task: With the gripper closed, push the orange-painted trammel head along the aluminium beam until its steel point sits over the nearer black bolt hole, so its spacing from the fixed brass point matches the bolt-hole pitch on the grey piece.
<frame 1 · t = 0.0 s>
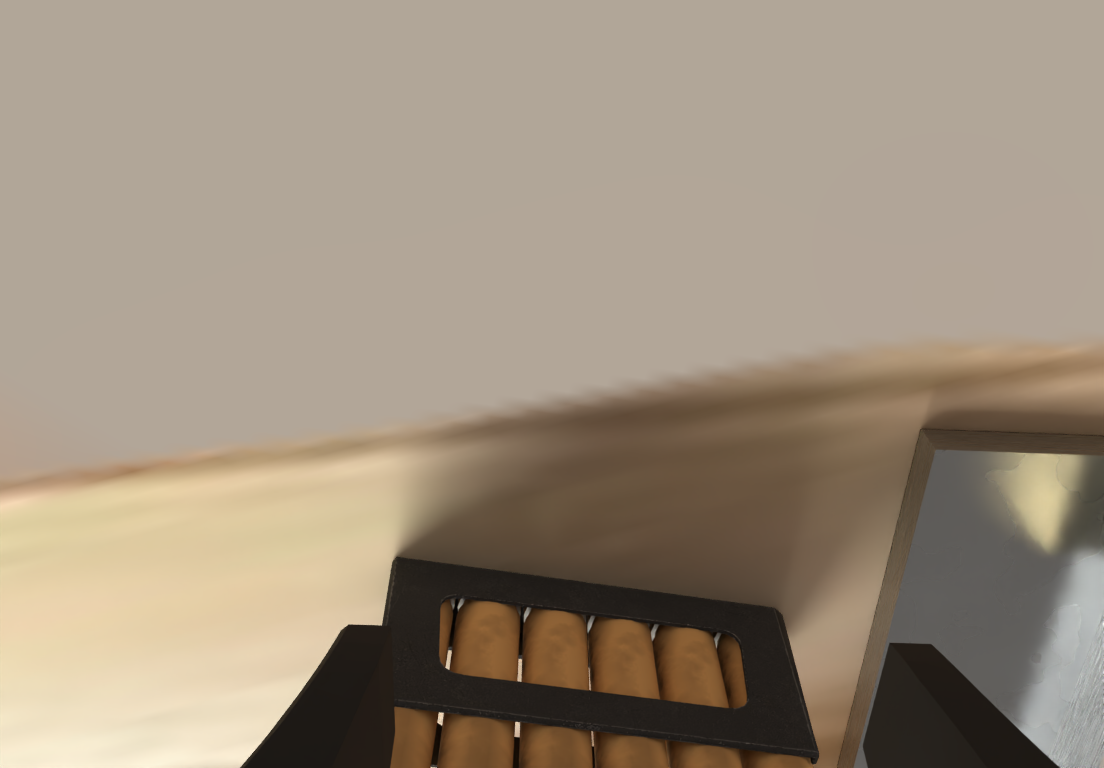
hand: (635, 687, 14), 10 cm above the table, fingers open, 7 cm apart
grey piece: (1055, 757, 28), on the table
ammunition clip: (584, 604, 26), on the table
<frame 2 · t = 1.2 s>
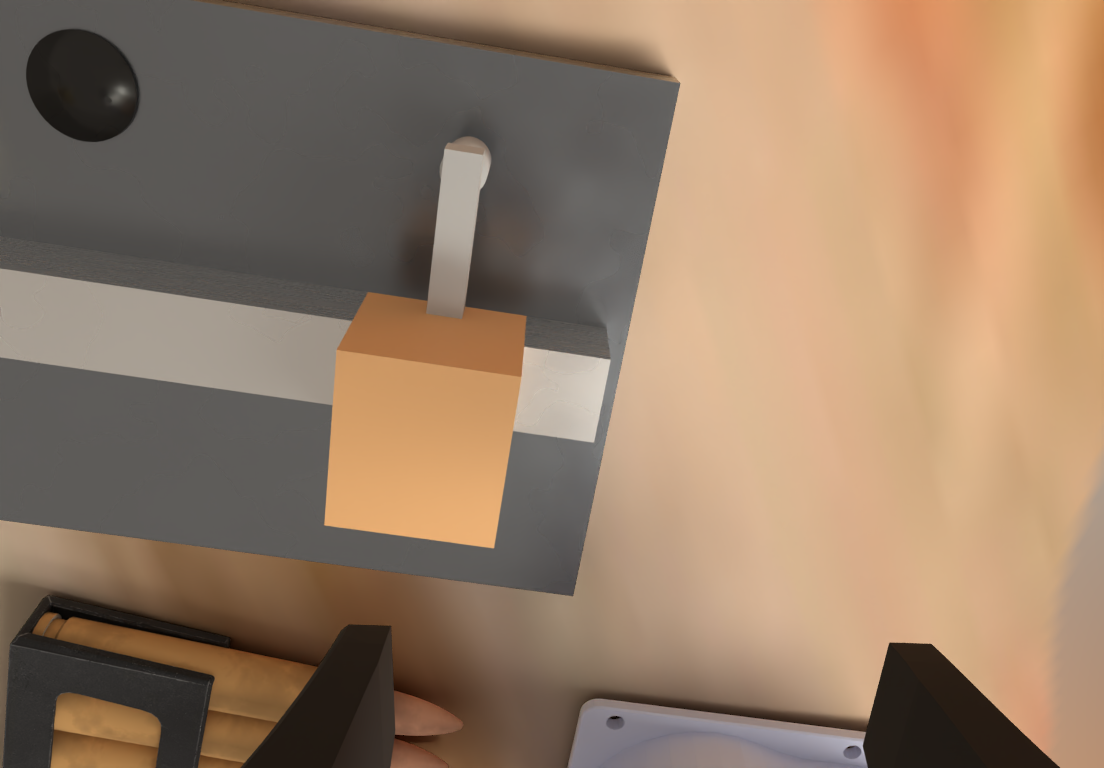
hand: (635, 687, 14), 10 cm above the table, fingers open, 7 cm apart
trammel head: (441, 330, 18), point 4 cm above the table, slide at 0.0 cm
grey piece: (155, 285, 22), on the table
ammunition clip: (10, 757, 27), point 1 cm above the table
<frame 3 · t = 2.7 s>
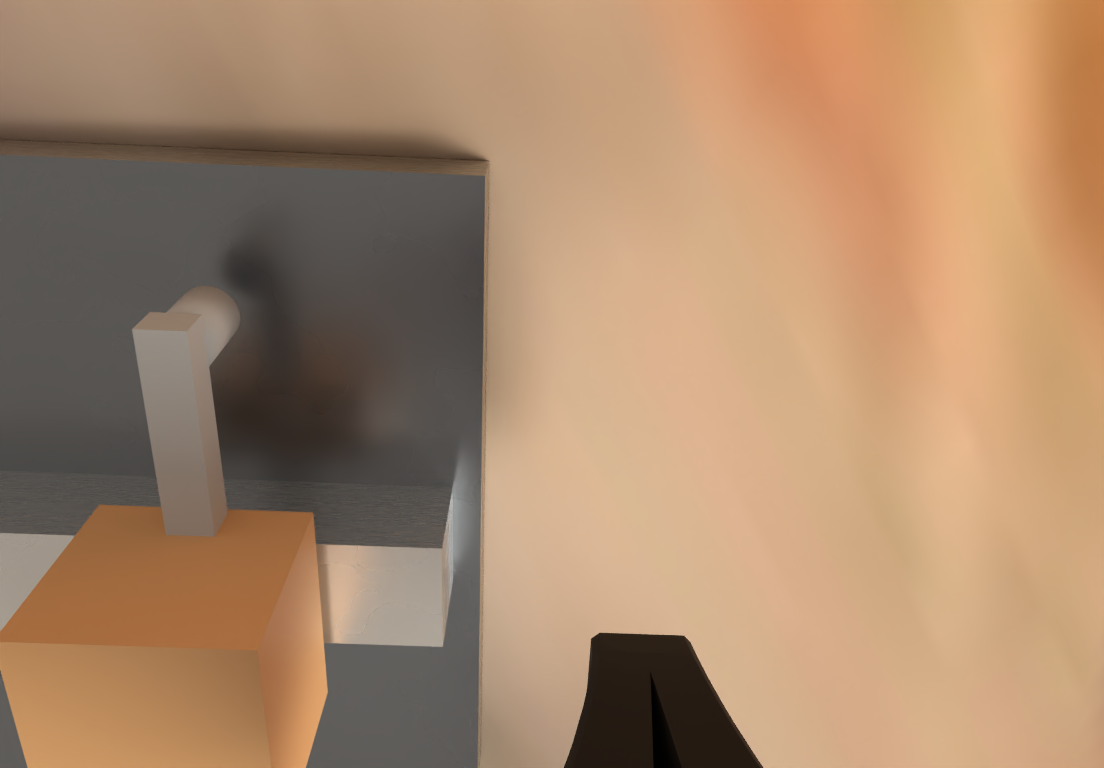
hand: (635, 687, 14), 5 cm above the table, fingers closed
trammel head: (186, 557, 13), point 4 cm above the table, slide at 0.0 cm
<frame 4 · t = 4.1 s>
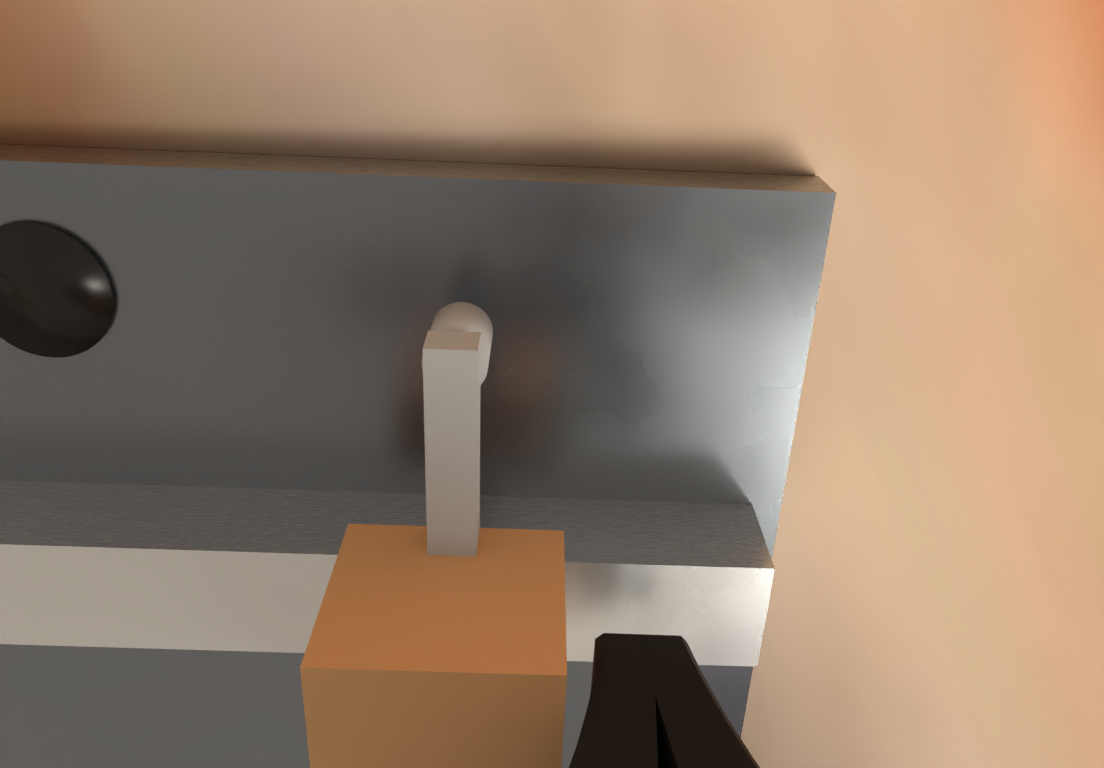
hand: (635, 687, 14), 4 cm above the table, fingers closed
trammel head: (450, 578, 13), point 4 cm above the table, slide at 1.4 cm, touching gripper
grey piece: (171, 501, 17), on the table
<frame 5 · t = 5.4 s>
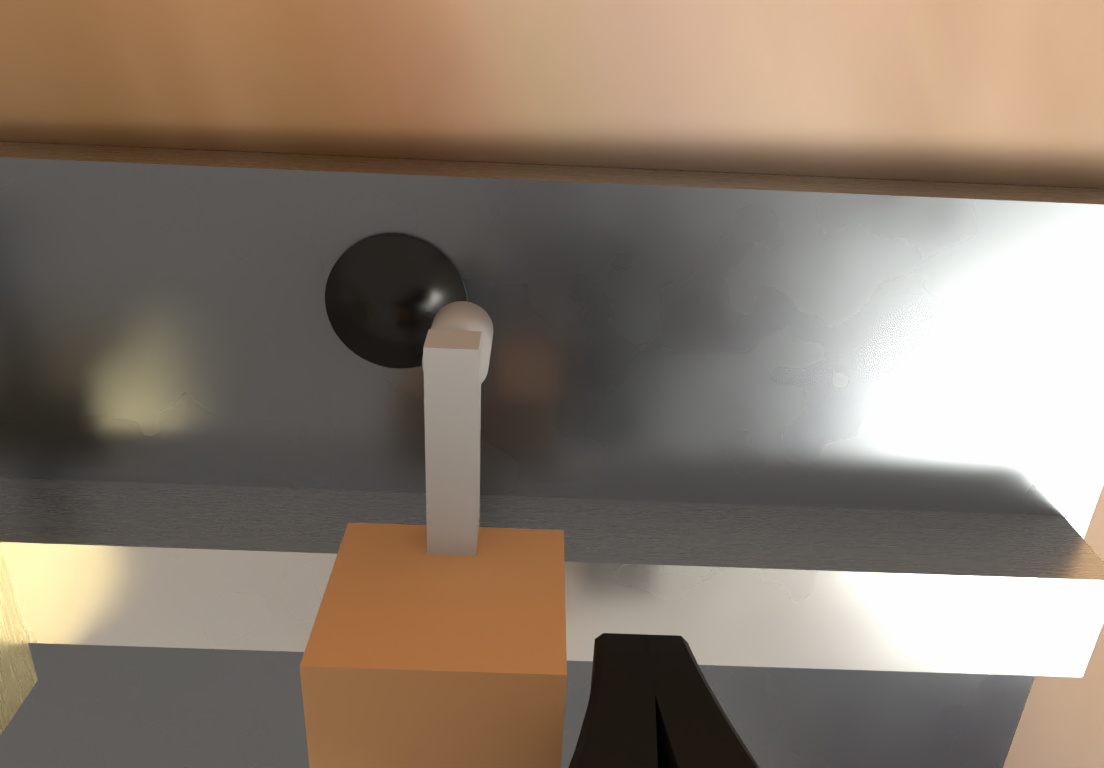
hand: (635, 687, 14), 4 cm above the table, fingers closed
trammel head: (450, 577, 13), point 4 cm above the table, slide at 6.9 cm, touching gripper
grey piece: (465, 510, 18), on the table
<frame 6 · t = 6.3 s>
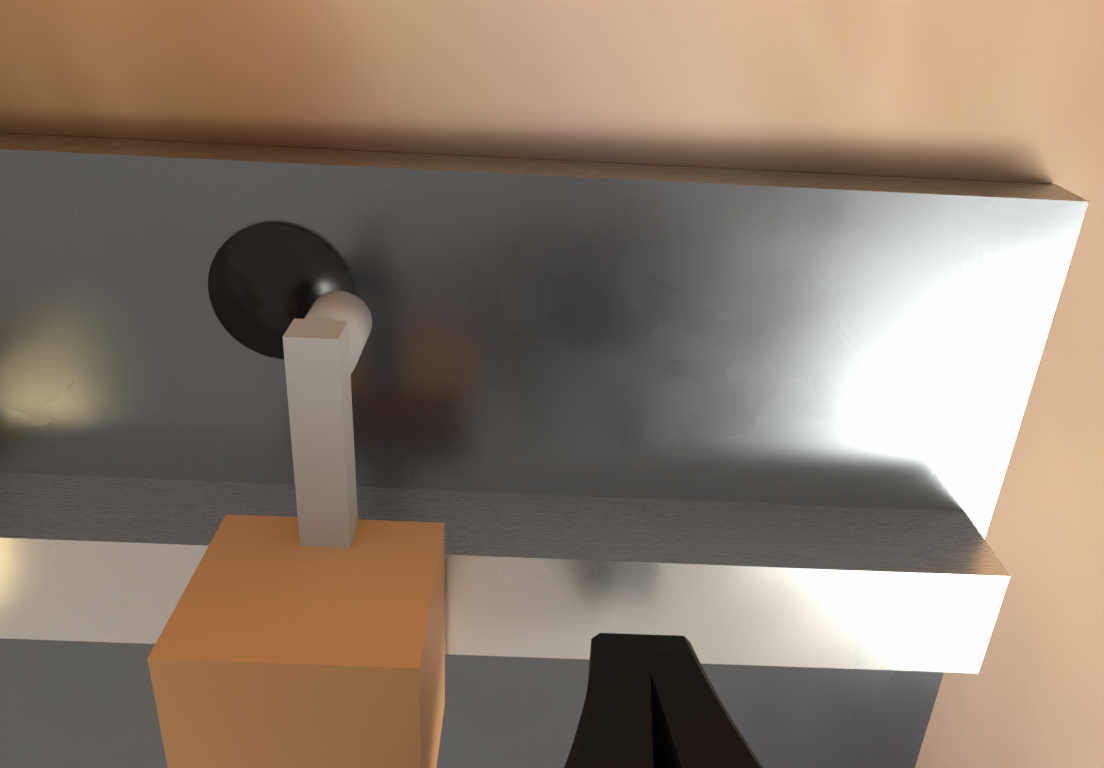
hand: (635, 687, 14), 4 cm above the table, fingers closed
trammel head: (322, 569, 13), point 4 cm above the table, slide at 6.9 cm
grey piece: (369, 503, 17), on the table
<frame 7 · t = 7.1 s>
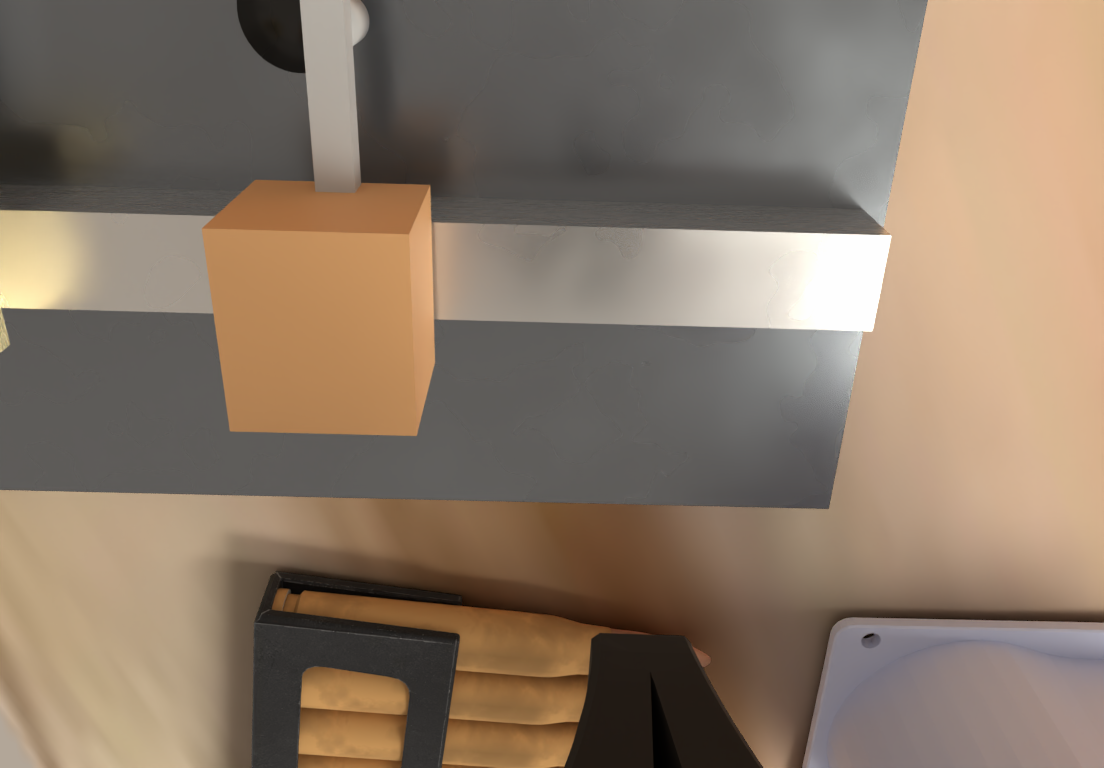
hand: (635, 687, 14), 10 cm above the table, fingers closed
trammel head: (333, 207, 16), point 4 cm above the table, slide at 6.9 cm
grey piece: (370, 227, 21), on the table
ammunition clip: (252, 741, 26), point 1 cm above the table
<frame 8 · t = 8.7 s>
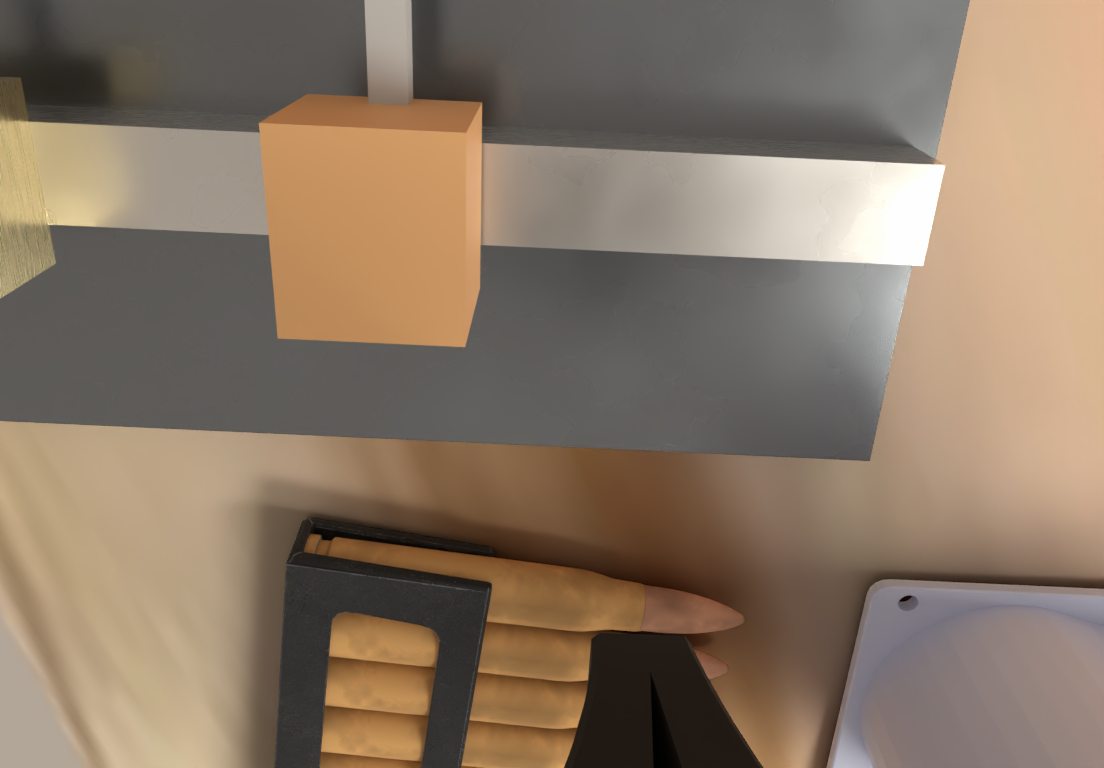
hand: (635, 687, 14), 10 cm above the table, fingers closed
trammel head: (386, 118, 16), point 4 cm above the table, slide at 6.9 cm
grey piece: (416, 160, 21), on the table
ammunition clip: (278, 692, 26), point 1 cm above the table
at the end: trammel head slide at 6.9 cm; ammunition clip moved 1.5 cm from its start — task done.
